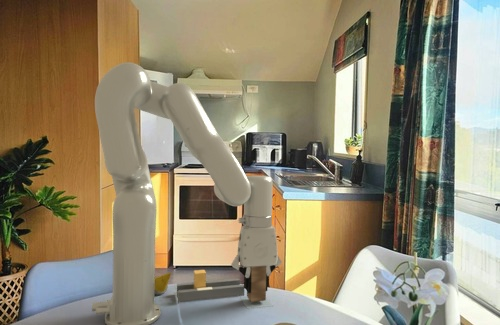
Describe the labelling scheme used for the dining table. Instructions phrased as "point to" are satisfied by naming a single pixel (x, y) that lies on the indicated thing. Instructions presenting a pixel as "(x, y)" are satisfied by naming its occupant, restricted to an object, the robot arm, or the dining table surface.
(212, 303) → the dining table surface
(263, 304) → the mat
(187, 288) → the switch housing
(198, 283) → the switch tab
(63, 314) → the dining table surface
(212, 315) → the dining table surface
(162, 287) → the yellow-filled grey round bowl
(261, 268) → the wooden block
